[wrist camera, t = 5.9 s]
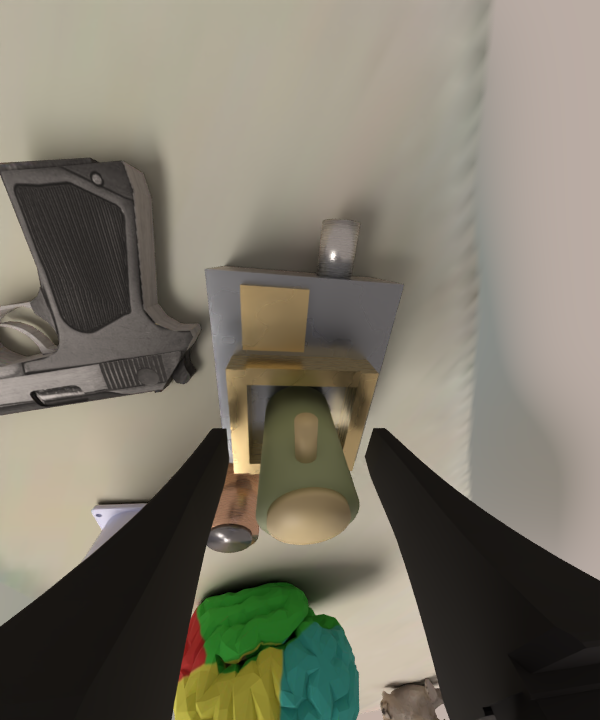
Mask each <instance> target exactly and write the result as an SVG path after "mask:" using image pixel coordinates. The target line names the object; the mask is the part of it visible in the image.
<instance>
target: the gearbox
mask: <svg viewBox="0 0 600 720" xmlns="http://www.w3.org/2000/svg"><path fill="white" fill-rule="evenodd" d="M359 229H360V223H359V222H356V221H352V220H343V219H327V220H323V221H322V230H321V239H320V249H319V259H318V268H317V273H308V272H295V271H283V270H270V269H258V268H245V267H233V266H220V267H214V268H207V269H205V276H206V285H207V295H208V304H209V313H210V322H211V332H212V341H213V350H214V359H215V369H216V378H217V387H218V396H219V406H220V415H221V424H222V428H227V438H228V449H229V463H233V464H234V474H239V473H250V474H260V464H261V454H262V444H263V433H264V423H265V413H266V407H267V404H268V402H269V400H270V399H271V397H272V396H273V395H274V394H276V393H277V392H279V391H280V390H282V389H284V388H287V387H291V386H307V387H311V388H313V389H315V390H317V391H319V392H320V393H321V394H322V395H323V396H324V397H325V399H326V400H327V403H328V406H329V409H330V412H331V415H332V418H333V422H334V425H335V428H336V431H337V434H338V437H339V440H340V443H341V446H342V449H343V453H344V456H345V459H346V462H347V465H348V468H349V471H352V470H353V466H354V462H355V460H356V457H357V453H358V449H359V446H360V442H361V439H362V435H363V431H364V428H365V424H366V420H367V417H368V413H369V410H370V406H371V402H372V399H373V395H374V392H375V388H376V384H377V381H378V377H379V374H380V370H381V366H382V363H383V359H384V356H385V352H386V348H387V345H388V341H389V338H390V334H391V330H392V327H393V323H394V319H395V316H396V312H397V309H398V305H399V301H400V298H401V294H402V291H403V287H404V284H400V283H396V282H391V281H386V280H382V279H377V278H370V277H358V276H352V270H353V264H354V258H355V252H356V246H357V241H358V235H359Z"/></svg>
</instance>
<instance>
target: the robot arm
mask: <svg viewBox="0 0 600 720" xmlns="http://www.w3.org/2000/svg"><path fill="white" fill-rule="evenodd" d="M365 459H366V463H367V466H368V470H369V473H370V476H371V479H372V481H373V484H374V486H375V489H376V491H377V494H378V496H379V498H380V501H381V503H382V505H383V508H384V510H385V512H386V515H387V517H388V519H389V522H390V524H391V527H392V529H393V532H394V534H395V537H396V539H397V542H398V545H399V548H400V551H401V554H402V557H403V560H404V563H405V566H406V569H407V573H408V576H409V579H410V582H411V585H412V589H413V592H414V595H415V598H416V602H417V605H418V609H419V612H420V616H421V619H422V623H423V626H424V630H425V633H426V637H427V641H428V645H429V648H430V652H431V656H432V660H433V664H434V667H435V671H436V675H437V679H438V683H439V687H440V691H441V695H442V700H443V702H444V705H445V708H446V711H447V713H448V716H449V719H450V720H600V581H599V580H598V579H596V578H594V577H592V576H590V575H589V574H587V573H585V572H583V571H581V570H580V569H578V568H576V567H574V566H572V565H571V564H569V563H567V562H565V561H563V560H562V559H560V558H558V557H557V556H555V555H553V554H551V553H550V552H548V551H547V550H545V549H543V548H542V547H540V546H538V545H537V544H535V543H533V542H532V541H530V540H528V539H527V538H525V537H524V536H522V535H520V534H519V533H517V532H516V531H514V530H513V529H511V528H510V527H508V526H506V525H505V524H504V523H502V522H501V521H499V520H497V519H496V518H495V517H493V516H492V515H490V514H488V513H487V512H485V511H484V510H483V509H481V508H480V507H479V506H477V505H476V504H474V503H473V502H472V501H470V500H469V499H468V498H466V497H465V496H464V495H462V494H461V493H460V492H458V491H457V490H456V489H454V488H453V487H452V486H451V485H449V484H448V483H447V482H446V481H444V480H443V479H442V478H441V477H440V476H438V475H437V474H436V473H435V472H433V471H432V470H431V469H430V468H429V467H428V466H426V465H425V464H424V463H423V462H422V461H421V460H420V459H418V458H417V457H416V456H415V455H414V454H413V453H412V452H411V451H410V450H408V449H407V448H406V447H405V446H404V445H403V444H402V443H401V442H400V441H399V440H398V439H397V438H395V437H394V436H393V435H392V434H391V433H390V432H389V431H388V430H386V429H385V428H373V432H372V435H371V438H370V441H369V445H368V448H367V451H366V455H365ZM228 464H229V449H228V438H227V428H213V429H212V430H211V431H210V432H209V433H208V435H207V436H206V437H205V439H204V440H203V441H202V443H201V444H200V445H199V446H198V448H197V449H196V450H195V451H194V453H193V454H192V455H191V456H190V457H189V459H188V460H187V461H186V462H185V463H184V465H183V466H182V467H181V468H180V469H179V470H178V471H177V473H176V474H175V475H174V476H173V477H172V478H171V479H170V480H169V481H168V482H167V483H166V485H165V486H164V487H163V488H162V489H161V490H160V491H159V492H158V493H157V494H156V495H155V496H154V497H153V498H152V499H151V500H150V501H149V502H148V503H137V504H111V505H96V506H94V508H93V509H92V510H91V512H92V514H93V516H94V517H95V519H96V521H97V522H98V524H99V526H100V527H101V529H102V531H101V533H100V534H99V536H98V537H97V539H96V540H95V542H94V543H93V545H92V547H91V548H90V550H89V551H88V553H87V554H86V556H85V557H84V559H83V560H82V562H81V563H80V564H79V565H78V566H77V567H75V568H74V569H73V570H72V571H71V572H69V573H68V574H67V575H66V576H64V577H63V578H62V579H61V580H60V581H58V582H57V583H56V584H55V585H54V586H52V587H51V588H50V589H49V590H47V591H46V592H45V593H43V594H42V595H41V596H40V597H38V598H37V599H36V600H35V601H33V602H32V603H31V604H29V605H28V606H27V607H26V608H24V609H23V610H21V611H20V612H19V613H18V614H16V615H15V616H14V617H12V618H11V619H10V620H8V621H7V622H6V623H4V624H3V625H2V626H0V720H171V719H172V713H173V708H174V702H175V697H176V691H177V686H178V681H179V675H180V670H181V664H182V659H183V654H184V649H185V644H186V639H187V634H188V629H189V624H190V619H191V614H192V609H193V604H194V599H195V595H196V590H197V585H198V580H199V576H200V571H201V567H202V562H203V557H204V553H205V549H206V545H207V541H208V538H209V534H210V531H211V528H212V524H213V521H214V518H215V514H216V511H217V508H218V504H219V501H220V498H221V494H222V491H223V488H224V484H225V480H226V475H227V470H228Z"/></svg>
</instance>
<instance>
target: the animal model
mask: <svg viewBox="0 0 600 720" xmlns="http://www.w3.org/2000/svg"><path fill="white" fill-rule="evenodd" d="M382 697H383V700H382V701H381V703H380V706H381V710H382V713H383V719H384V720H439V719H438V718H437V715H436V713H435V709H436V708H437V707H438V706H440V705H441V704H444V702H443V700H442V695H441V691H440V688H434V686H433V685H432V683H431V682H430V680H428V679H427V678H425V686H421V685H416V684H406V685H403V686H401V687H399V688H397V689H394V690H393V691H392V692H391V694H387V693H386V692H385V691H383V692H382ZM444 720H445V719H444Z"/></svg>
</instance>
